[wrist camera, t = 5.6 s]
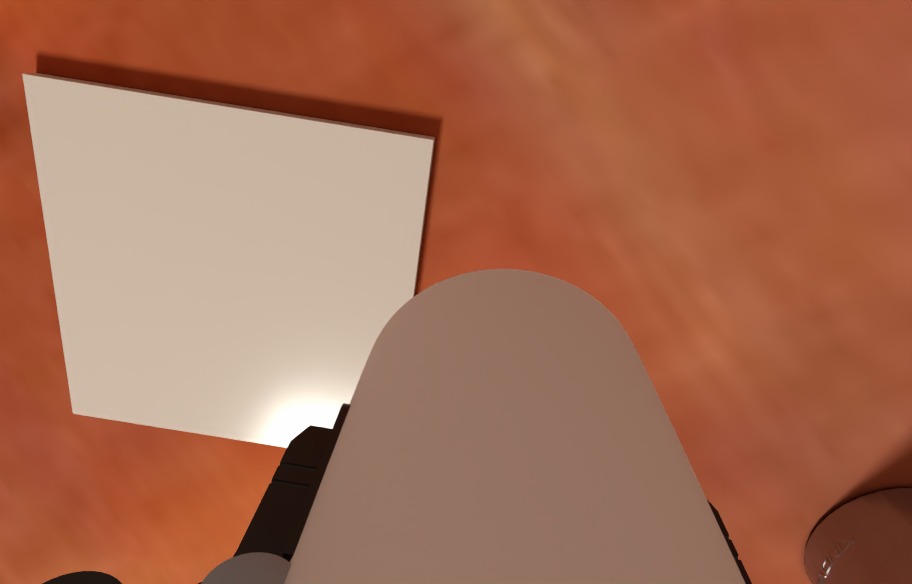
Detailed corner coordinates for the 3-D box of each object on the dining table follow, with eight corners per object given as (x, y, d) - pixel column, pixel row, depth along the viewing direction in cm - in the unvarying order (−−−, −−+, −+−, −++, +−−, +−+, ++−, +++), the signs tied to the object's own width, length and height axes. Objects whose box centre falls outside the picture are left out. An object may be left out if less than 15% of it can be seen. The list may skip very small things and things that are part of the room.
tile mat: (435, 136, 26) (433, 140, 25) (394, 454, 34) (391, 464, 33) (35, 72, 26) (22, 73, 25) (82, 405, 33) (72, 413, 33)
